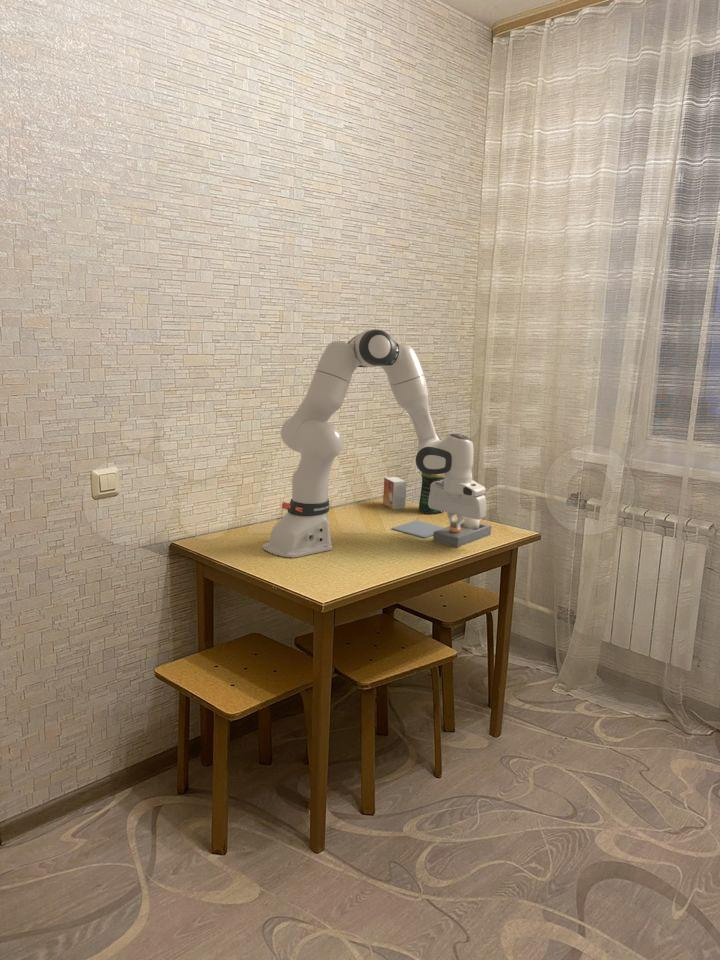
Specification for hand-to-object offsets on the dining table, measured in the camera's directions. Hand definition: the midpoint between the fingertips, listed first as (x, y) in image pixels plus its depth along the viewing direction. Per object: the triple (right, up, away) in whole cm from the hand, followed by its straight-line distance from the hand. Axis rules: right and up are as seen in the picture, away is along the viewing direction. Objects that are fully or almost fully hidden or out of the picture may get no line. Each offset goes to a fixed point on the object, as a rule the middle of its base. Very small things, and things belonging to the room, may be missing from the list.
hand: (455, 527), depth 239 cm
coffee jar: (-4, +3, +35) cm, 36 cm away
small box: (-18, +5, +40) cm, 44 cm away
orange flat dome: (0, -1, 0) cm, 1 cm away
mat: (-10, -2, +12) cm, 16 cm away
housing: (+3, -4, +5) cm, 7 cm away
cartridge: (+6, -3, +8) cm, 11 cm away
